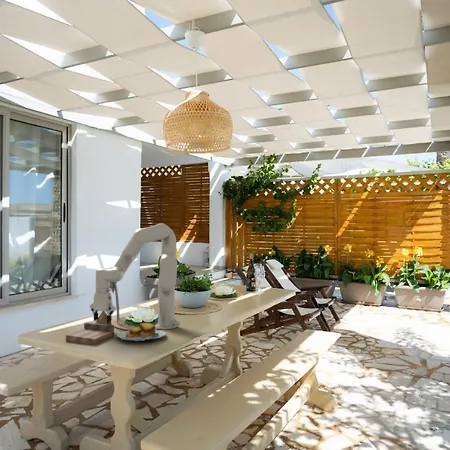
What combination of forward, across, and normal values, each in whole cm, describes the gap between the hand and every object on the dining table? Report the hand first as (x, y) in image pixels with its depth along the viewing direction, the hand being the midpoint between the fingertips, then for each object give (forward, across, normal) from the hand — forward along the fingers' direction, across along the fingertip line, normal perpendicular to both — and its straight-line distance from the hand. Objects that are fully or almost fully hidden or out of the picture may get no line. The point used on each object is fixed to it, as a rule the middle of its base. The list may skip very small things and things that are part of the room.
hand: (102, 321), depth 241 cm
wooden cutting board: (+5, -5, +18) cm, 19 cm away
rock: (+5, 0, 0) cm, 5 cm away
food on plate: (+5, -29, +6) cm, 30 cm away
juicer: (+5, +6, -19) cm, 21 cm away
